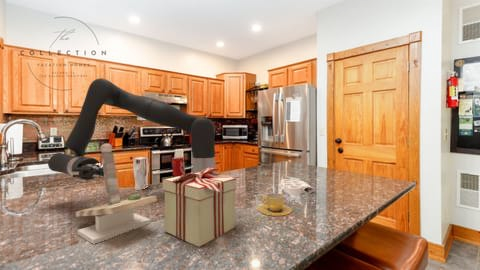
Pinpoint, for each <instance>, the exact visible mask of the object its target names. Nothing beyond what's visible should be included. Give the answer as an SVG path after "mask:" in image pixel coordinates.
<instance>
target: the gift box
mask: <svg viewBox="0 0 480 270" xmlns="http://www.w3.org/2000/svg"><path fill="white" fill-rule="evenodd" d="M219 170H220V169H219V168H216V167H215V168H206V169H204V170H202V171H201V172H198V173H193V172H189V173H185V175H183V176H178V177H174V178H173V177H170V178H165V179H163V180H162V191H164V231H165V233H168V234H170V235H172V236H175V237H176V238H178V239H180V240H182V241H185V242H187V243H189V244H191V245H193V246H196V247H197V248H200V247H203V246H204V245H206V244H207V243H210V242H211V241H213V240H215V239H217V238H219V237H221V236H222V235H224V234H226V233H228V232H230V231H232V230H233V229H235V228H236V227H235V225H236V222H235V218H236V214H235V211H236V202H235V201H236V189H237V178H239V176H234V175H230V174H223V173H221V174H220V173H219V174H217V173H215V174H214V173H213V171H215V172H217V171H219Z"/></svg>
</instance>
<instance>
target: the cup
mask: <svg viewBox="0 0 480 270" xmlns="http://www.w3.org/2000/svg"><path fill="white" fill-rule="evenodd" d="M264 199H265V200H266V202H265V201H264ZM260 201H261V204H262V205H259V206H258V208H257V210H258V212H259V213H261V214H263V215H267V216H273V217H275V216H277V217H280V216H287V215H289V214H291V213H292V212H293V209H292V207H290V206H288V205H286V204H284V203H285V194H283V193H279V192H268V193H266V194H265V195H264V196H262V197H261V198H260ZM268 208H269V210H270V211H272V212H270V211H268V210H267V209H268ZM281 209H282V211H281V212H280V210H281Z"/></svg>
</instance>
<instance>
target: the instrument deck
mask: <svg viewBox="0 0 480 270" xmlns="http://www.w3.org/2000/svg"><path fill="white" fill-rule="evenodd" d="M99 149H100V152H101V154H100V157H101V162H102V163H101V164H102V165H103V171H104V177H103V178H104V184H105V192H106V197H107V203H104V204H100V205H96V206H92V207H89V208H85V209H81V210H77V211H75V212H74V213H75V218H76V217H77V218H79V217H92V216H96V215H106V214H115V213H118V212H122V211H125V210H128V209H132V208H134V209H135V208H138V207H141V206H145V205H148V204H151V203H154V202H157V201H158V198H157V195H151V196H145V197H142V194H140V193H137V194H131V195H128V197H127V199H123V200H121V197H120V189H119V182H118V175H117V170H116V162H115V156H114V152H112V151H113V146H112V145H111V144H110V143H107V142H106V143H103V144H102V145H100V148H99Z"/></svg>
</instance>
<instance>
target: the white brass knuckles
mask: <svg viewBox="0 0 480 270" xmlns="http://www.w3.org/2000/svg"><path fill="white" fill-rule="evenodd" d="M277 187H279V189H280V190H281V191H282V192H284V193H287V194H288V195H291V196H298V195H302V194H304V193H306V194H307V193H310V194H311V193H313V192H314V191H315V190H314V187H313V186H310V184H308V183H307V182H305V181H304V180H299V179H298V180H295V179H289V178H283V179H281V180H280V183H279V184H277ZM306 190H307V191H306Z"/></svg>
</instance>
